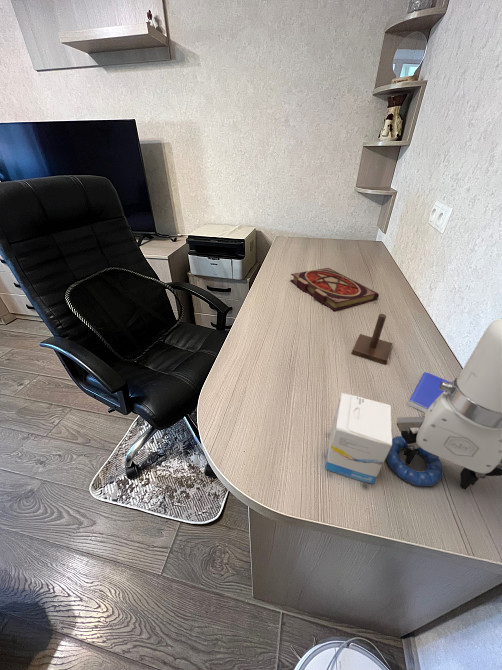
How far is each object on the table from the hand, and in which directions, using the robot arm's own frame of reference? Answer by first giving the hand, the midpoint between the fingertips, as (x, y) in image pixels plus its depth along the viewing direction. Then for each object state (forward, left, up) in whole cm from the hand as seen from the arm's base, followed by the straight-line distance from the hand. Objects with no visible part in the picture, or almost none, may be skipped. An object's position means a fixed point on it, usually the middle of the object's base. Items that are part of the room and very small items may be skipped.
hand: (434, 469), depth 49 cm
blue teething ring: (+3, 0, 0) cm, 3 cm away
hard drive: (0, -20, -1) cm, 20 cm away
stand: (+16, -31, -1) cm, 35 cm away
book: (+38, -63, -1) cm, 74 cm away
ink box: (+13, +4, -1) cm, 14 cm away
